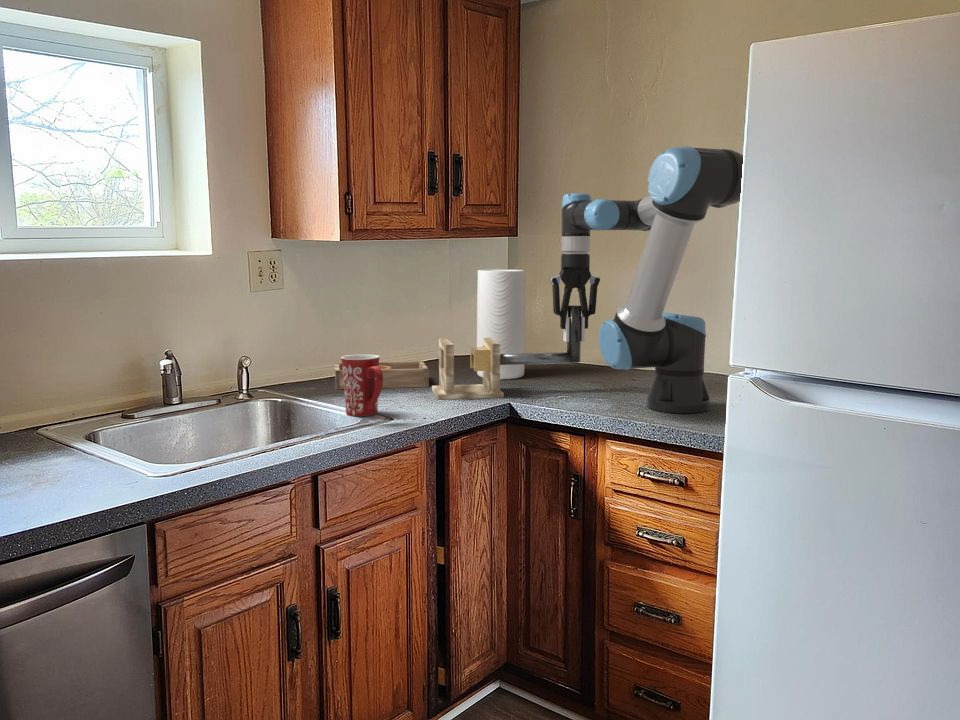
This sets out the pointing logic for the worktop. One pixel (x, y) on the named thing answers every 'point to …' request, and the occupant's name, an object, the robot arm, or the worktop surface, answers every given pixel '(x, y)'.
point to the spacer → (480, 358)
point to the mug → (362, 384)
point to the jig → (484, 390)
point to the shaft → (553, 358)
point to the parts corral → (395, 375)
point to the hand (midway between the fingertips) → (573, 340)
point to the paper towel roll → (502, 314)
